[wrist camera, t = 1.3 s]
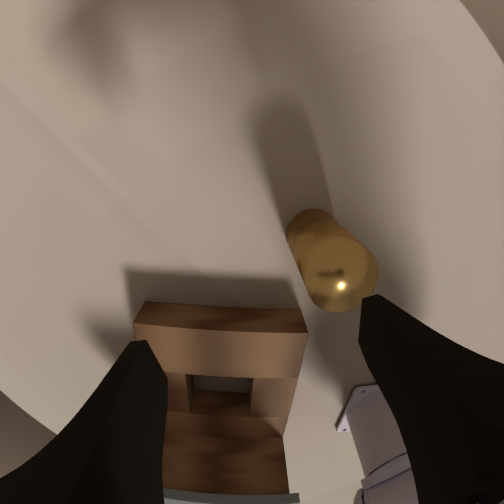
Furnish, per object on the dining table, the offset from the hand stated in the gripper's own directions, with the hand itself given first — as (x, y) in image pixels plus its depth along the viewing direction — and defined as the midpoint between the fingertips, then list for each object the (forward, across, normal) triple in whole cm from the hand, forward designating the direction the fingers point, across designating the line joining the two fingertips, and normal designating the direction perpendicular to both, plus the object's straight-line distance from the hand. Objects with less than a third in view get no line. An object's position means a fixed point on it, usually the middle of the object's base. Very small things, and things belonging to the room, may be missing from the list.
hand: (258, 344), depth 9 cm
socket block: (+10, +4, +13) cm, 17 cm away
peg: (+11, -5, +2) cm, 12 cm away
